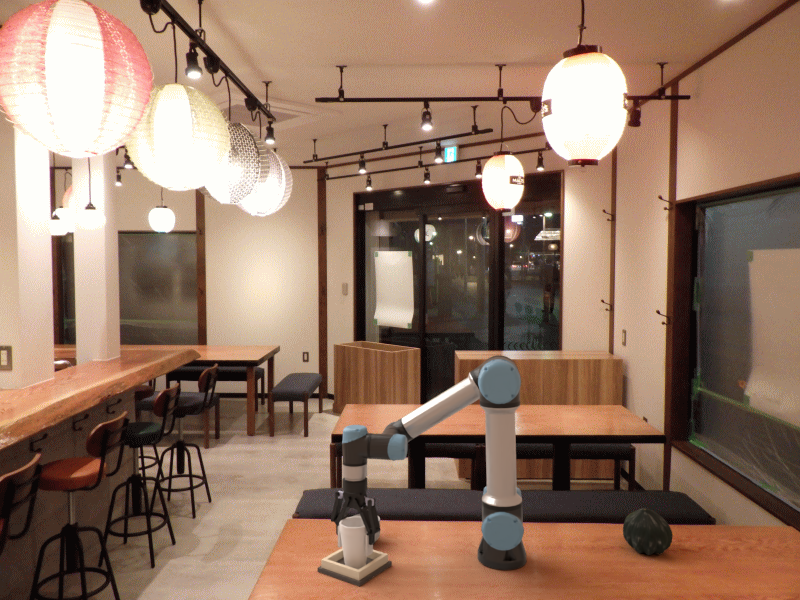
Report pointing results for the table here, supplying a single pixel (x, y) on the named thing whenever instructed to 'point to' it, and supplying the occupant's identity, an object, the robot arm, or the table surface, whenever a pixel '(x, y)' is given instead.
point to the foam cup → (353, 541)
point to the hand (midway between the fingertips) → (355, 550)
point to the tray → (339, 570)
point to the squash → (647, 532)
